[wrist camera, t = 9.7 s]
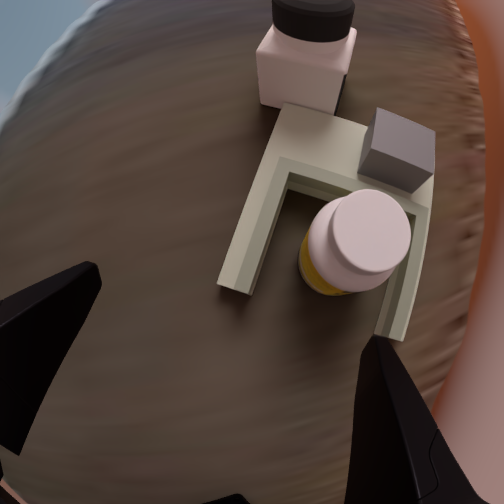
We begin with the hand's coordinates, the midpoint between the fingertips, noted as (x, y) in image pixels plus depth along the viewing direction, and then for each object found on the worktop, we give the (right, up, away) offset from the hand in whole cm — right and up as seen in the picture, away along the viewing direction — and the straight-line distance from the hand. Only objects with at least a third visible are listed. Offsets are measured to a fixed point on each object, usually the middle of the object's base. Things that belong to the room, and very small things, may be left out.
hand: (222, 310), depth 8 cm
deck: (+8, +5, +14) cm, 17 cm away
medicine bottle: (+6, +18, +17) cm, 25 cm away
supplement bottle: (+7, +1, +14) cm, 15 cm away
